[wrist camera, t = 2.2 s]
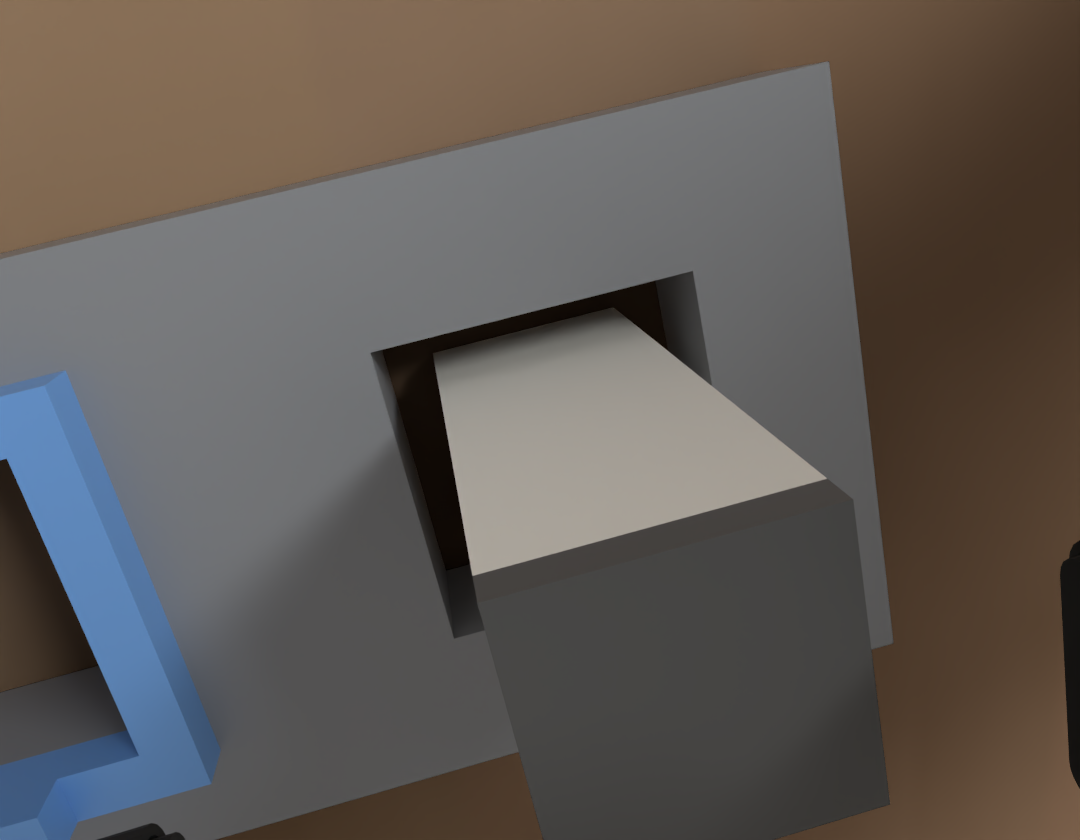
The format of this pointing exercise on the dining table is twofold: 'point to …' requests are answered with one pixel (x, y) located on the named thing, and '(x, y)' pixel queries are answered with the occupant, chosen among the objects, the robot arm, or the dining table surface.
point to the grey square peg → (659, 593)
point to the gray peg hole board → (370, 438)
